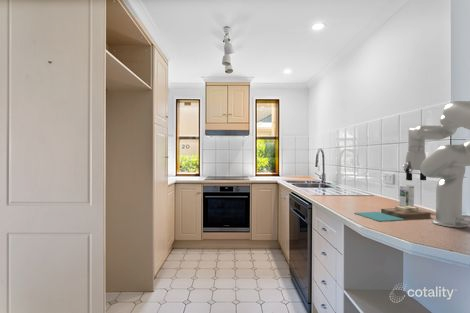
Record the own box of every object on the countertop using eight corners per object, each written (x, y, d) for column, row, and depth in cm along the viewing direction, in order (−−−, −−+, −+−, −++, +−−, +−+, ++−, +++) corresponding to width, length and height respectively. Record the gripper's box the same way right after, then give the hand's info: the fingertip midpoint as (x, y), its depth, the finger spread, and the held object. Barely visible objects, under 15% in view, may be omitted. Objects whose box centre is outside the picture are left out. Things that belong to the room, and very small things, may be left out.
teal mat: (405, 220, 130) (405, 219, 130) (379, 221, 127) (379, 220, 127) (377, 212, 148) (377, 211, 148) (354, 213, 144) (354, 212, 144)
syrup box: (398, 207, 163) (398, 184, 163) (405, 207, 165) (405, 184, 165) (407, 209, 157) (407, 185, 157) (414, 209, 159) (414, 185, 159)
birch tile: (408, 209, 146) (408, 205, 146) (418, 211, 140) (418, 207, 140) (395, 209, 143) (395, 206, 143) (404, 212, 138) (404, 208, 138)
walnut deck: (430, 217, 137) (430, 212, 137) (402, 219, 132) (402, 214, 132) (407, 211, 150) (407, 207, 150) (381, 213, 146) (381, 208, 146)
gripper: (422, 150, 150) (422, 179, 150) (398, 149, 146) (397, 179, 146) (435, 149, 143) (434, 180, 143) (409, 149, 139) (409, 181, 139)
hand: (416, 180), depth 144 cm, fingers open, 9 cm apart
